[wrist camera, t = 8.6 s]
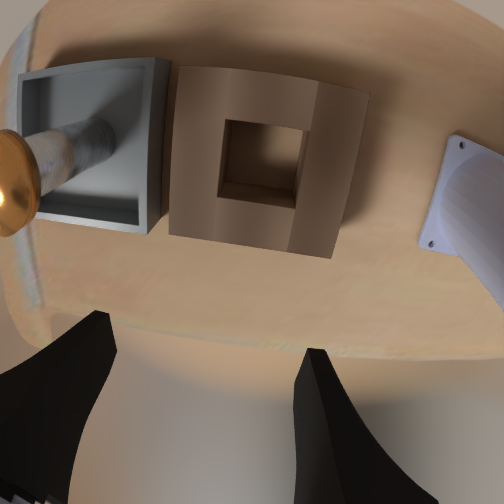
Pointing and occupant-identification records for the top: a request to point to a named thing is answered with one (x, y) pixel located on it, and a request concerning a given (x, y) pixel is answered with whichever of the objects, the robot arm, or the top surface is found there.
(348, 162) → the holder block
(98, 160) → the pin
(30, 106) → the tray
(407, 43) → the top surface
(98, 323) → the robot arm
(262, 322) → the top surface
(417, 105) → the top surface
